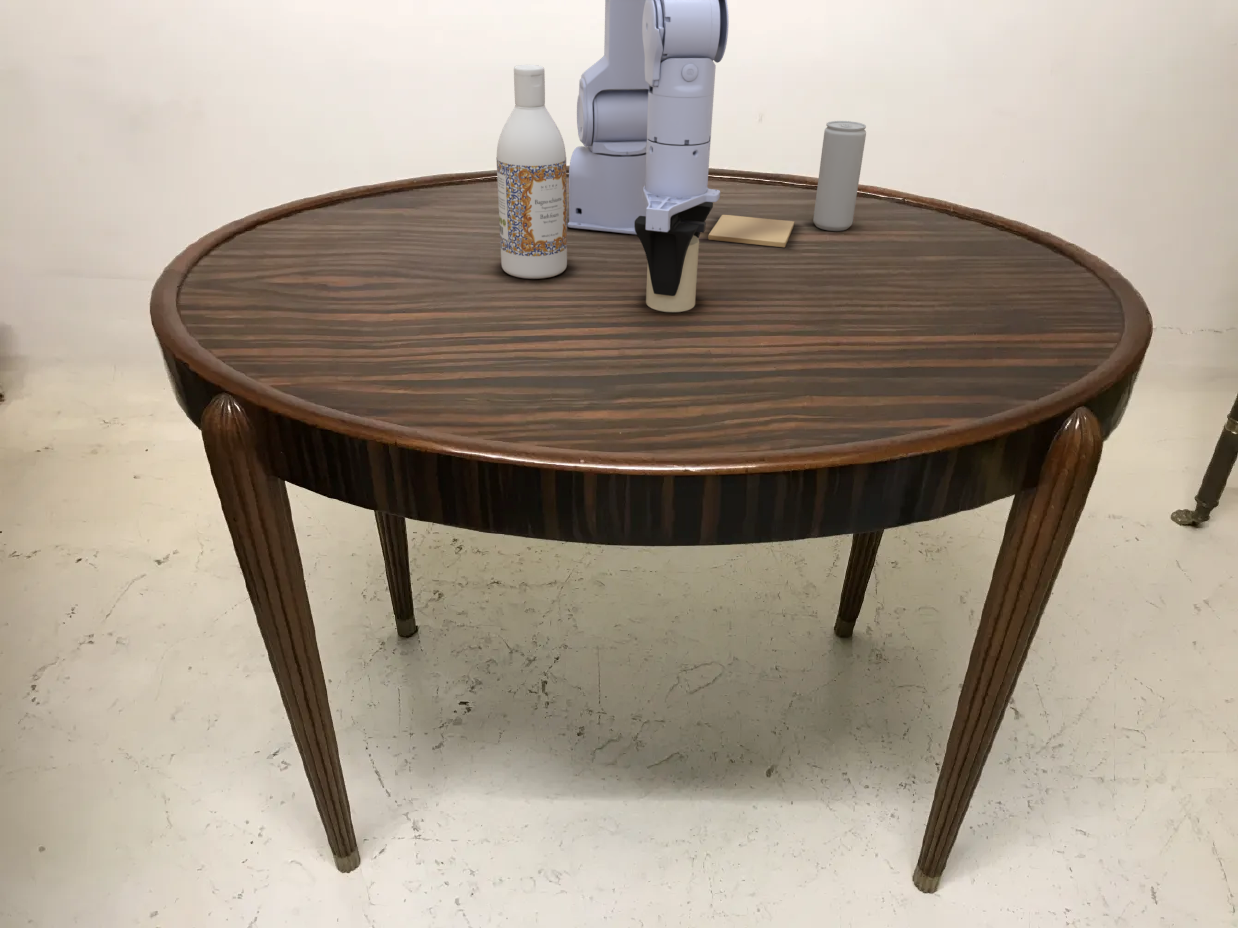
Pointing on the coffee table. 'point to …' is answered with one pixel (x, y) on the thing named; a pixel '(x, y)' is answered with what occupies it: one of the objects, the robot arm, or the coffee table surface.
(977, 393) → the coffee table surface
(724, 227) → the coaster
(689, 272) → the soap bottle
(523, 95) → the bath foam
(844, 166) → the beverage can
